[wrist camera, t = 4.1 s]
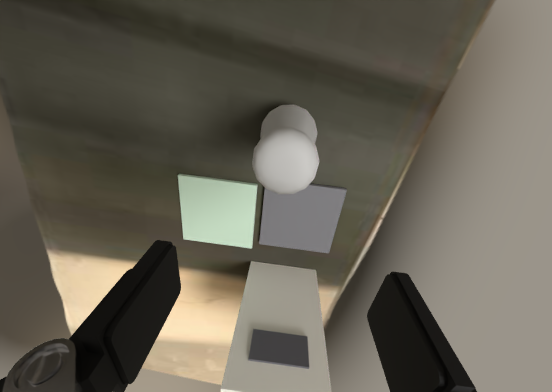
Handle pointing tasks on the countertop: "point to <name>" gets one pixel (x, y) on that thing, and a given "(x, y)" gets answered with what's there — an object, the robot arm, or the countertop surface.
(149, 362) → the countertop surface
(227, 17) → the countertop surface
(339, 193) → the grey pad
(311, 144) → the salt shaker
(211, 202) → the green pad
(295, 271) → the block
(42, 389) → the robot arm
